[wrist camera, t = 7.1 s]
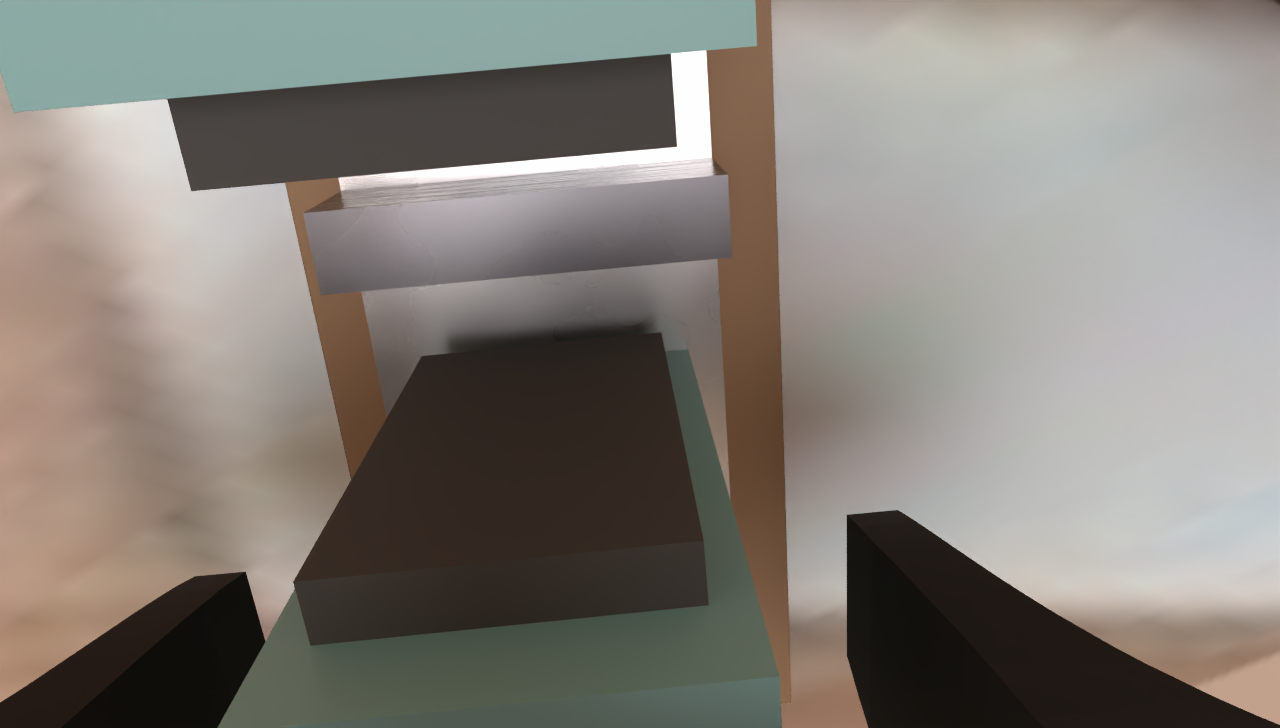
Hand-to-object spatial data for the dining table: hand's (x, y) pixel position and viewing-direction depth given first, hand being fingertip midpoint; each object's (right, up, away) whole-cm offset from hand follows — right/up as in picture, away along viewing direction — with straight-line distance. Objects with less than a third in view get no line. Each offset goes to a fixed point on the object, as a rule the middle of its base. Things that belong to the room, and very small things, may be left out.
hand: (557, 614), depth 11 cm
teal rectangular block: (0, +1, +3) cm, 3 cm away
